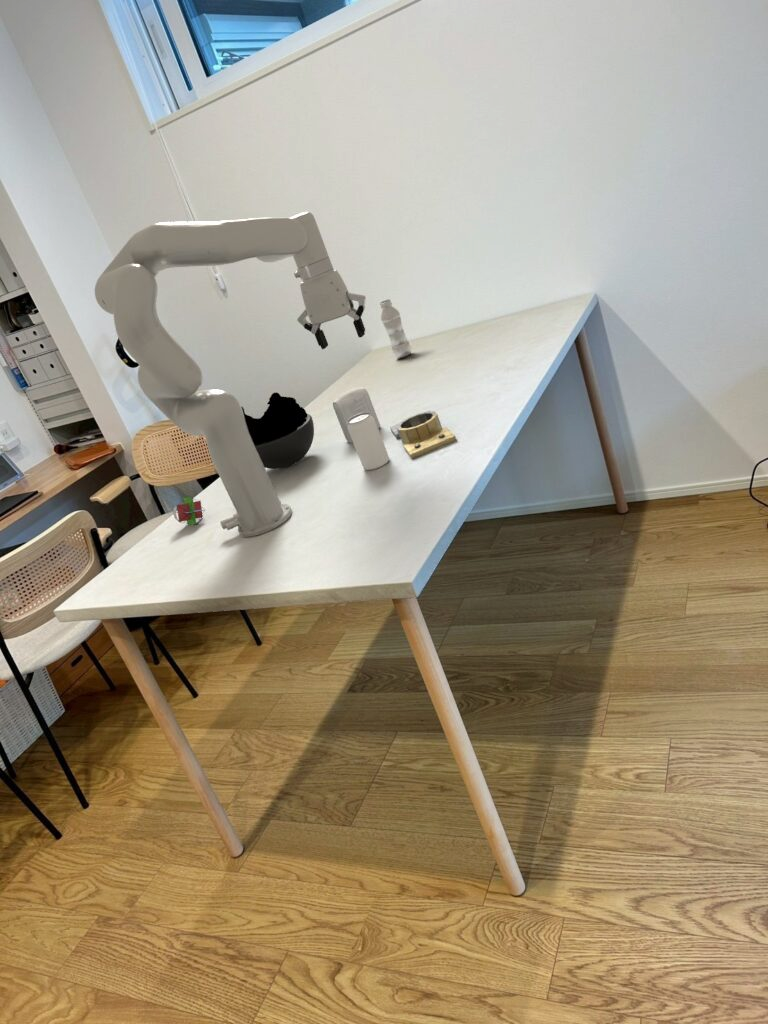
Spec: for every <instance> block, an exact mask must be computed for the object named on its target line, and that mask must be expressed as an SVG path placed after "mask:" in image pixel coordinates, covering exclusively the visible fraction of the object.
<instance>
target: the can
mask: <svg viewBox="0 0 768 1024" xmlns="http://www.w3.org/2000/svg"><path fill="white" fill-rule="evenodd" d="M347 423H348V431H349V433H350V436H351V438H352V441H353V442H352V443H353V446H354V449H355V451H356V454H357V455H358V459H359V460H360V463H361V466H362V468H363V469H364V470H366V471H373V470H374V469H375V470H377V469H381V468H383V467H384V466H385V465H387V464H388V463H389V461H390V456H389V454H388V451H387V448H386V446H385V443H384V441H383V438H382V435H381V433H380V430H379V428H378V427H377V425H376V422H375V420H374V418H373V417H372V416H371V415H370V413H369V412H366V413H361V414H358V415H356V416H354V417H352V418H350V419H349V420H348V421H347Z"/></svg>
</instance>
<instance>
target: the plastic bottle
mask: <svg viewBox="0 0 768 1024" xmlns="http://www.w3.org/2000/svg"><path fill="white" fill-rule="evenodd" d="M379 305H380V309H382V311H381V315H380V320H381V322H382V324H383V326H384V328H385V330H386V332H387V335H388V337H389V341H390V344H391V350H392V354H393V356H394V358H396V359H403V358H407V357H408V356H409V355H411V354H412V349H413V348H412V345H411V342H410V341H409V340H408V338H407V336H406V333H405V331H404V327H403V323H402V318H401V314H400V311H399V310H398V309H397V308H396V307H394V306H393V304H392V301H391V299H385V300H383V301H381V302H380V303H379Z"/></svg>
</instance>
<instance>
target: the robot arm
mask: <svg viewBox="0 0 768 1024" xmlns="http://www.w3.org/2000/svg"><path fill="white" fill-rule="evenodd" d="M291 257H293V260H294V262H295V265H296V268H297V270H296V271H295V272H294V273H293V274H294V277H295V278H296V279H298V278H300V279H301V282H300V283H299V287H300V291H301V296H302V300H303V303H304V304H303V305H304V307H305V309H304V310H303V312H302V313H301V314H300V315H299V316H298V317H297V320H296V321H297V322H298V323H299V324H301V326H303V328H304V329H305V330H307V331H308V332H310V333H312V335H314V337H315V339H316V342H317V344H318V346H319V347H320V348H321V350H325V349H326V348H327V347H328V346H329V343H328V340H327V337H326V335H325V333H324V332H325V331H324V330H323V329H321V325H322V324H324V323H327V322H330V321H334V320H336V319H340V318H343V317H345V316H348V317H351V319H353V322H352V323H353V326H354V329H355V331H356V334H357V337H358V338H363V337H364V335H365V332H366V327H365V325H364V321H363V320H362V317H363V314H364V311H365V308H366V298H367V297H366V295H364V294H363V295H362V294H357V293H351V292H349V290H348V288H347V285H346V283H345V282H344V280H343V278H342V276H341V274H340V273H339V271H338V270H337V269H334V267H333V264H332V262H331V257H330V256H329V254H328V251H327V248H326V245H325V243H324V240H323V236H322V234H321V231H320V229H319V226H318V223H317V221H316V218H315V216H314V214H313V213H312V212H310V211H304V212H300V213H299V214H296V215H294V216H291V217H257V218H247V219H235V220H234V219H233V220H232V219H231V220H220V221H188V222H187V221H174V222H173V221H171V222H170V221H167V222H166V221H165V222H156V223H153V224H150V225H149V226H147V227H145V228H143V229H141V230H139V231H137V232H135V233H134V234H133V235H132V236H130V239H128V240H127V241H126V243H125V244H124V245H123V247H122V248H121V250H119V252H118V253H117V254H116V255H115V257H114V259H113V260H112V261H111V262H110V264H108V266H107V267H106V268H105V269H104V271H103V272H101V274H100V275H99V277H98V279H97V280H96V283H95V286H94V297H95V300H96V302H97V304H98V306H99V307H100V308H101V309H102V310H103V311H104V312H106V313H108V314H109V315H110V314H111V315H113V321H114V322H113V324H114V327H115V332H116V335H117V337H118V340H119V342H120V343H121V345H122V347H123V348H124V349H125V351H126V352H127V353H128V354H129V355H130V356H131V357H132V358H133V360H134V361H135V362H136V363H137V364H138V366H139V367H138V371H137V381H138V384H139V387H140V389H141V391H142V392H143V394H144V395H145V396H146V397H147V399H148V400H149V401H150V402H151V403H152V404H153V405H154V406H155V407H157V409H159V411H160V412H162V414H163V415H165V416H166V418H168V419H169V420H170V421H171V423H172V424H174V425H175V426H176V427H177V429H178V430H181V431H182V432H184V433H186V434H188V435H191V436H204V437H205V440H206V444H207V449H208V454H209V457H210V460H211V463H213V465H214V468H215V470H216V472H217V474H218V476H219V478H220V480H221V483H222V484H223V486H224V488H225V491H226V492H227V494H228V496H229V498H230V500H231V502H232V505H233V506H234V509H235V512H236V513H234V514H233V515H232V517H230V518H225V519H223V520H220V526H221V528H222V530H225V529H226V530H227V531H230V530H233V529H235V528H236V527H237V532H238V533H239V535H240V536H241V537H247V538H251V537H255V536H259V535H263V534H266V533H267V532H270V531H272V530H274V529H276V528H278V527H279V526H281V525H283V523H285V522H286V521H287V520H288V519H290V517H291V516H292V513H293V510H292V508H291V505H289V504H286V503H281V501H280V497H279V496H278V493H277V492H276V490H275V487H274V485H273V483H272V481H271V479H270V477H269V474H268V471H267V470H266V468H265V467H264V465H263V463H262V461H261V459H260V456H259V454H258V452H257V450H256V448H255V446H254V443H253V441H252V439H251V436H250V434H249V431H248V428H247V425H246V421H245V417H244V414H243V410H242V407H243V406H241V403H240V402H239V400H238V399H237V398H236V397H235V396H234V395H233V394H231V393H230V392H228V391H226V390H222V389H216V388H214V389H204V390H200V388H201V387H202V383H203V373H202V369H201V367H200V366H199V364H198V363H197V362H196V361H195V360H194V359H193V358H192V356H191V355H189V353H188V352H187V351H186V350H185V349H184V348H183V347H182V346H181V345H180V343H178V342H177V341H176V340H175V338H174V337H172V335H171V334H170V333H169V332H168V330H167V329H166V328H165V327H164V326H163V324H162V323H161V320H160V319H159V316H158V311H157V298H158V284H157V280H156V277H157V275H158V274H159V273H160V271H164V270H166V269H170V268H187V267H188V268H189V267H190V268H191V267H204V266H205V267H211V266H215V267H217V266H224V265H229V264H235V263H238V262H241V261H244V260H249V259H252V258H256V259H257V260H259V261H261V262H263V263H274V262H278V261H282V260H285V259H287V258H291ZM353 302H358V307H357V309H356V308H354V307H355V306H354V303H353ZM307 317H308V319H309V321H310V322H309V321H308V320H307Z"/></svg>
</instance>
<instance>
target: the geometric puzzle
mask: <svg viewBox="0 0 768 1024" xmlns="http://www.w3.org/2000/svg"><path fill="white" fill-rule="evenodd" d="M182 500H183V501H181V502H179V504H176V505H174V507H173V511H172V512H173V513H172V514H173V517H174V519H175V520H176V521H177V522H179V523H181V524H184V525H185V522H186V525H187V524H188V525H187V526H197V525H198V522H200V521H201V519H203V518H204V513H205V512H206V509H205V507H204V506H202V502H201V500H199V499H196V498H194V497H182ZM202 517H203V518H202ZM200 518H201V519H200ZM191 524H193V525H191ZM194 524H195V525H194Z"/></svg>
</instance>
